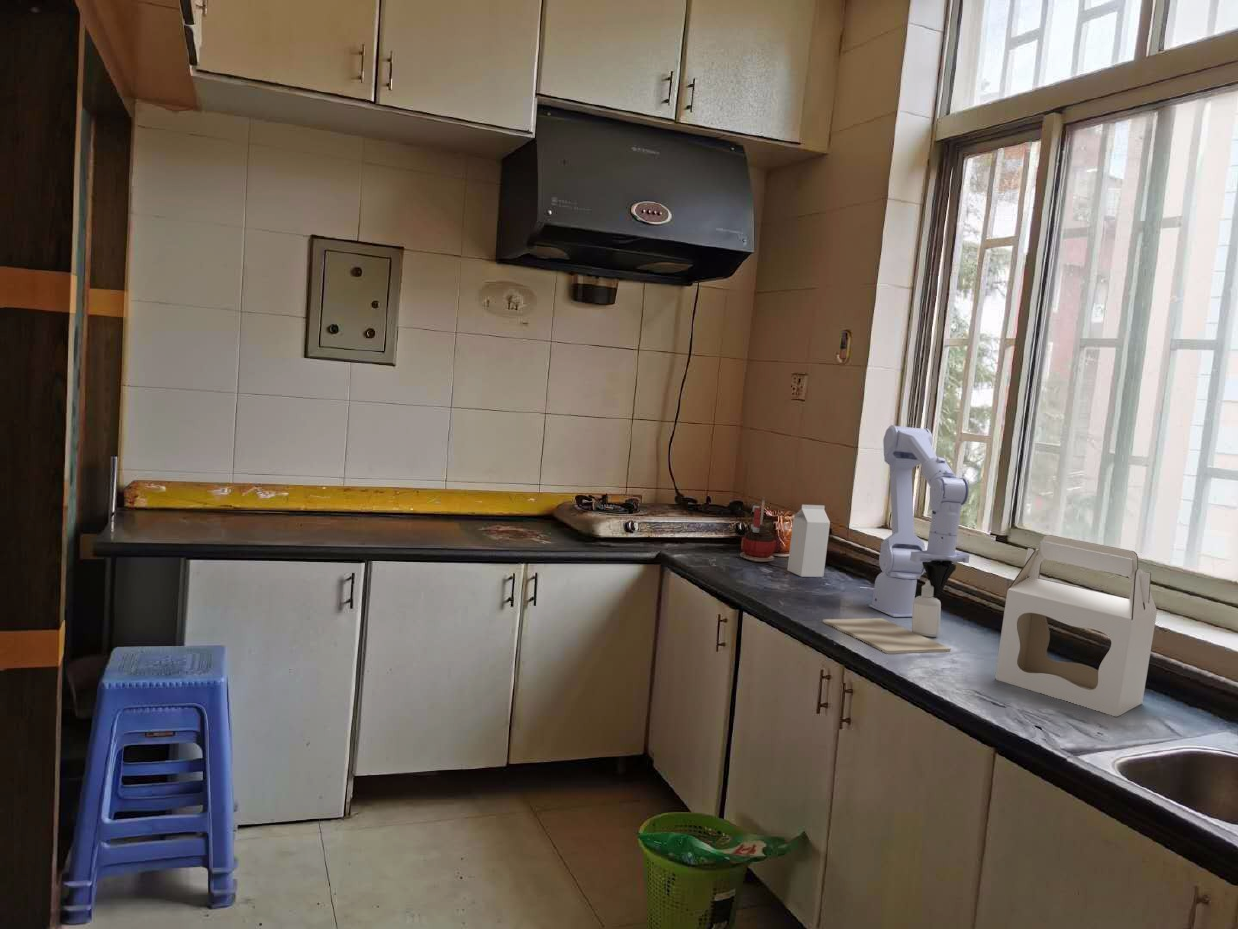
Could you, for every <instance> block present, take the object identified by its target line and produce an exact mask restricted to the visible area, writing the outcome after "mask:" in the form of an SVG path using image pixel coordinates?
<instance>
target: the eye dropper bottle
mask: <svg viewBox="0 0 1238 929" xmlns="http://www.w3.org/2000/svg"><path fill="white" fill-rule="evenodd" d="M933 592H934V587H933V586H931V585H930V580H928V579H927V580H925V583H924V584H923V585H922V586H921V595H918V596H916V597H915V599H914V601H913V615H912V617H911V631H912V632H914V633H917V634H919V635H921V636H923V637H927V638H928V637H929V638H935V637H938V636H939V635H940V629H941V613H942V612H941V611H942V608H941V607H942V603H941V600H940V599H938V598H937V597H936V596H934V595H933Z"/></svg>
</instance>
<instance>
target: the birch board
mask: <svg viewBox="0 0 1238 929" xmlns="http://www.w3.org/2000/svg"><path fill="white" fill-rule="evenodd" d="M822 623H824V624H826V625H828V626H830V627H832V626H833V627H832V628H834V627H835V628H834V629H836V628H837V629H836V630H838V631H839V632H842V633H844V632H846V633H847V635H848V634H849V636H850V635H851V636H850V637H852V636H853V637H852V638H854V639H856V638H858V639H860V640H862V641H863V642H862V641H861V642H862V643H864V642H865V643H864V644H866V643H867V645H868V644H870V645H872V646H874V647H875V648H874V647H873V648H874V649H876V648H877V650H879V651H881V650H882V651H881V652H882V653H885V654H887V655H889V654H891V655H894V654H895V655H896V654H915V653H921V652H922V653H942V652H943V653H944V652H951V650H952V649H951V648H950V647H948V646H946V645H943V644H942V643H939V642H936V641H935V640H932V639H931V638H928V637H927V636H921V635H919V634H917V633H914V632H912V630H910V629H908V628H906V627H904V626H903V627H902V626H901V625H898V624H897V623H893V622H891V621H889V620H887V619H885V618H882V617H879V618H878V617H876V618H875V617H874V618H872V617H871V618H833V619H831V618H828V619H822ZM846 633H845V634H846ZM858 639H857V640H858ZM860 640H859V641H860ZM870 645H869V646H870ZM872 646H871V647H872Z"/></svg>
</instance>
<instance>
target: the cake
mask: <svg viewBox="0 0 1238 929" xmlns="http://www.w3.org/2000/svg"><path fill="white" fill-rule="evenodd" d="M765 502H766V497H762V499H761V508H760V506H758V505H753V506H752V512H753V520H752V523H751V524H750V529H749V530H747V532H745V533H744V535H743V536H742V537H741V541H740V548H741V550H742V552H740V554H739V555H740V557H741V558H743V559H746V560H748V561H751V562H757V563H765V562H766V563H767V562H772V561H774V560H775V557H774V556H773V552H775V551H776V546H777V541H776V540H775V536H774V534H772V532H771V531H770V530H769V529H766V525H765V524H763V519H764V511H765V505H766V504H765Z"/></svg>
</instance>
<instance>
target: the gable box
mask: <svg viewBox="0 0 1238 929" xmlns="http://www.w3.org/2000/svg"><path fill="white" fill-rule="evenodd" d="M1039 544H1040V546H1039V547H1037V548H1036V549H1034V548H1032V547H1027V552H1026V556H1025V559H1024V565H1023V567H1022V568H1021V569H1020V571H1019V572H1018V574H1017V575H1016V577H1015V578H1014V580H1013V581H1012V582H1011V584H1010V585H1009V587H1008V588H1007V589H1006V590H1007V591H1006V596H1005V597H1006V598H1005V605H1004V612H1003V619H1002V624H1001V625H1002V626H1001V633H1000V637H999V638H1000V640H999V647H998V654H997V660H996V665H995V666H996V667H995V674H994V678H995V680H996V681H999V682H1002V683H1005V684H1008V685H1011V686H1014V687H1019V688H1021V689H1024V690H1028V691H1031V692H1034V693H1038V694H1040V693H1042V694H1041V695H1043V694H1045V696H1046V695H1048V696H1047V697H1050V696H1051V697H1050V698H1053V697H1054V698H1053V699H1056V698H1057V700H1059V699H1062V700H1061V701H1063V700H1065V701H1064V702H1066V701H1068V702H1067V703H1069V702H1071V703H1070V704H1072V703H1074V704H1073V705H1075V704H1077V705H1076V706H1079V705H1081V706H1080V707H1082V706H1084V707H1083V708H1085V707H1087V708H1086V709H1088V708H1090V709H1089V710H1091V709H1093V710H1092V711H1095V710H1096V712H1098V711H1100V712H1099V713H1101V712H1103V713H1102V714H1104V713H1106V714H1105V715H1108V714H1109V715H1108V716H1111V715H1112V717H1114V716H1115V717H1114V718H1117V717H1120V716H1121V715H1123V714H1125V713H1126V712H1128V711H1130V710H1132V709H1134V708H1136V707H1138V706H1139V705H1142V704H1143V702H1144V701H1143V700H1144V696H1145V695H1144V694H1145V688H1146V682H1147V676H1148V670H1149V663H1150V658H1151V650H1152V645H1153V639H1154V633H1155V626H1156V621H1157V620H1156V619H1157V615H1158V610H1157V607H1156V604H1155V601H1154V598H1153V596H1152V592H1151V579H1152V578H1151V577H1152V573H1151V572H1147V571H1143V569H1142V568H1139V555H1138V554H1137V552H1135V551H1133V550H1130V549H1124V548H1118V547H1113V546H1108V545H1104V544H1098V543H1094V542H1088V541H1083V540H1078V539H1073V538H1068V537H1062V536H1058V535H1057V536H1056V535H1054V534H1047V535H1045V536H1043V538H1042V540H1040V542H1039ZM1045 560H1046V561H1049V562H1051V561H1052V562H1056V563H1057V562H1058V563H1061V564H1062V563H1063V564H1067V565H1071V566H1077V567H1081V568H1086V569H1089V570H1090V569H1091V570H1095V571H1099V572H1100V571H1101V572H1106V573H1110V574H1114V575H1117V576H1119V575H1120V576H1121V577H1122V578H1124V577H1126V578H1129V580H1130V592H1129V597H1125V596H1124V597H1123V596H1119V595H1115V594H1111V593H1107V592H1102V591H1098V590H1094V589H1089V588H1085V587H1081V586H1075V585H1071V584H1066V583H1062V582H1058V581H1054V580H1049V579H1045V578H1041V577H1040V576H1041V568H1042V563H1043V562H1044V561H1045ZM1047 617H1048V618H1050V619H1053V620H1055V621H1057V622H1060V623H1062V624H1066V625H1068V626H1070V627H1073V628H1074V627H1075V628H1083V629H1090V630H1093V631H1096V632H1097V631H1098V632H1101V633H1102V634H1105V635H1106V636H1107V637H1108V638H1109V639H1110V642H1111V643H1110V648H1109V650H1108V651H1107V653H1106V655H1105V656H1104V657H1103V659H1102V661H1101V663H1100V665H1099V667H1098V669H1096V668H1094V667H1092V666H1089V665H1086V664H1083V663H1077V662H1063V661H1057V660H1055V659H1052V658H1050V657H1049V655H1048V647H1049V643H1050V639H1051V634H1050V627H1049V624H1048V619H1047Z"/></svg>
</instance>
